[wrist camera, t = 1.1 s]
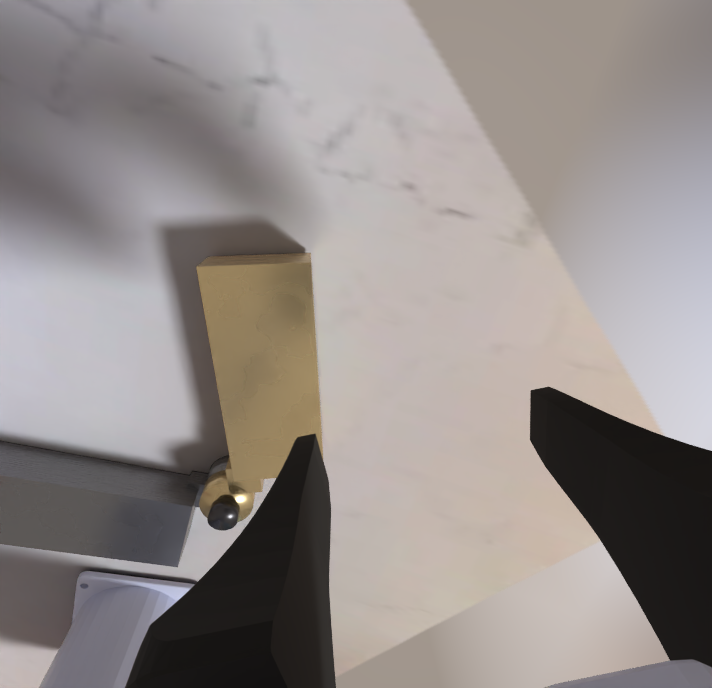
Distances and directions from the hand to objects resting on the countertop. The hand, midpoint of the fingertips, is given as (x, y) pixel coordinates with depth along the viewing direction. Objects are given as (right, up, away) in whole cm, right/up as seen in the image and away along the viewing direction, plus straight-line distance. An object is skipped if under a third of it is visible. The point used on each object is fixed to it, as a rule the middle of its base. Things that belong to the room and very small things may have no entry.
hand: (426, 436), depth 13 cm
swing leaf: (-8, 0, +10) cm, 13 cm away
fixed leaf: (-17, -6, +11) cm, 21 cm away
